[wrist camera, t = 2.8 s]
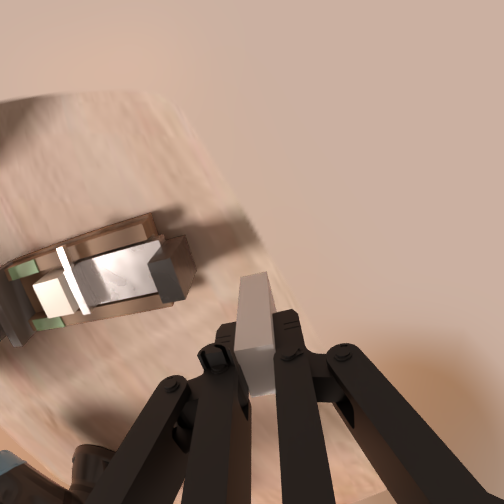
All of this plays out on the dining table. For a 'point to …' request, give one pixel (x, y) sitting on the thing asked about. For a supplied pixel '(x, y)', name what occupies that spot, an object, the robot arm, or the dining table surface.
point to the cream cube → (55, 294)
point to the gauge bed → (42, 261)
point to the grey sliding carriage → (131, 272)
